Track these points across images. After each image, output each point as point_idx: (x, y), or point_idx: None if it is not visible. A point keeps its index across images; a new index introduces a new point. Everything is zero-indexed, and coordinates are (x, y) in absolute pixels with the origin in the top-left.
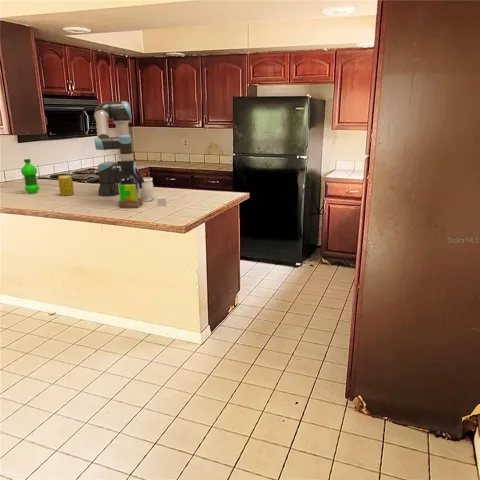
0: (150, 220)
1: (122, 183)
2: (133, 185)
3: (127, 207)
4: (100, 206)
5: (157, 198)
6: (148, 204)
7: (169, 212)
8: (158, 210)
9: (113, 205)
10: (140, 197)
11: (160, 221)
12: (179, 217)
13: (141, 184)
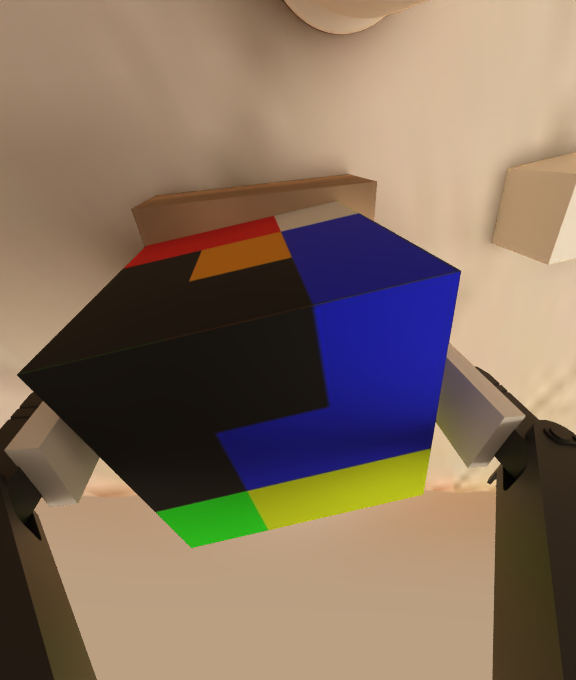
0: (447, 474)
1: (118, 450)
2: (402, 498)
3: None
4: (4, 339)
5: (552, 259)
6: (408, 201)
7: (544, 375)
8: (488, 353)
9: (90, 290)
10: None
11: (484, 473)
12: (569, 426)
13: (524, 420)
